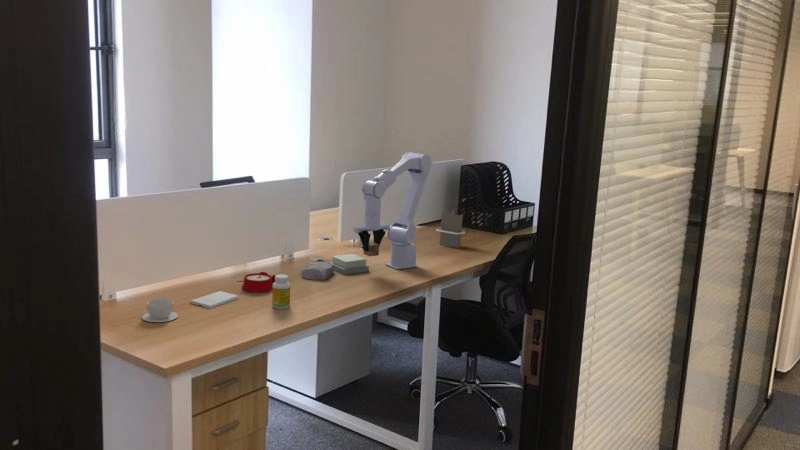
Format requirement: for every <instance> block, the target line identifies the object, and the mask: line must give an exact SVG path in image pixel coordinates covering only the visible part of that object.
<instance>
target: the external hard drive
mask: <svg viewBox="0 0 800 450" xmlns="http://www.w3.org/2000/svg"><path fill="white" fill-rule="evenodd" d="M236 300H239V295H237V294H234V293H229V292H225V291H223V290H222V291H221V290H219V291H216V292H212V293H210V294H207V295H203V296H201V297H198V298H194V299H191V300H190V301H189V302H190V304H192V305H196V306H201V307H203V308H207V309H214V308H215V307H218V306H221V305H224V304H227V303H231V302H233V301H236Z"/></svg>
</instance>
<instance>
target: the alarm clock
mask: <svg viewBox="0 0 800 450" xmlns="http://www.w3.org/2000/svg"><path fill="white" fill-rule="evenodd" d="M276 275H277V274H273V275H271V274H268V273H267V272H266V271H261V272H254V273H248V274H245V275H244V277H243V280H237V281H236V282H237V283H239V282H240V283H242V285H241V289H242V290H243V291H245V292H247V293H248V292H250V293H265V292H271V291H273V283H274V282H276V281H275V276H276Z"/></svg>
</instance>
